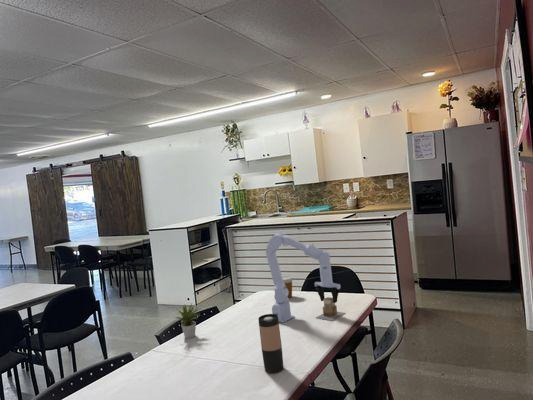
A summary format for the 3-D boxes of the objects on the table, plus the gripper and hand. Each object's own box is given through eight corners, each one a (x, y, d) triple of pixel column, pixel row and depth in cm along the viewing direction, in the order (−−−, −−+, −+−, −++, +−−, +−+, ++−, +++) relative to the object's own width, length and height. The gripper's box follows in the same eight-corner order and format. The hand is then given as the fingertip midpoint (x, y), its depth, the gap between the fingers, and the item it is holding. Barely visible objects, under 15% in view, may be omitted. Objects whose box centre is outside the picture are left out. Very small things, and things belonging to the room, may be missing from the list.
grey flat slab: (332, 321, 192) (332, 320, 192) (315, 318, 199) (315, 317, 199) (345, 313, 201) (345, 312, 201) (329, 310, 208) (329, 310, 208)
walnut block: (331, 317, 197) (330, 308, 197) (323, 315, 200) (322, 307, 200) (337, 314, 200) (336, 305, 200) (329, 312, 204) (328, 304, 204)
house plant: (198, 342, 185) (193, 308, 184) (170, 343, 188) (166, 309, 187) (208, 331, 199) (204, 299, 198) (182, 332, 202) (179, 300, 201)
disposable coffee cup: (277, 299, 240) (275, 280, 239) (281, 295, 249) (279, 276, 249) (292, 299, 237) (290, 279, 237) (296, 294, 246) (294, 275, 246)
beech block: (330, 307, 197) (329, 300, 197) (324, 306, 200) (323, 299, 200) (335, 305, 200) (334, 297, 200) (328, 304, 203) (327, 296, 203)
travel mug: (272, 363, 154) (266, 312, 154) (288, 367, 149) (282, 315, 149) (260, 371, 148) (253, 319, 148) (275, 375, 143) (269, 321, 143)
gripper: (342, 274, 197) (345, 300, 198) (319, 272, 208) (321, 297, 208) (334, 277, 192) (337, 304, 193) (311, 275, 202) (313, 301, 203)
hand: (329, 301), depth 200 cm, fingers open, 7 cm apart
